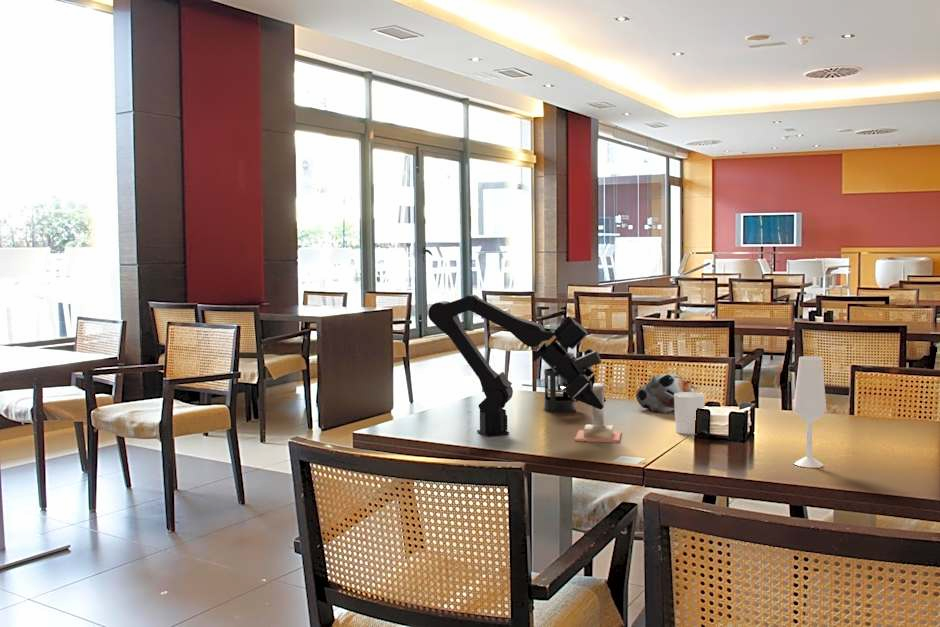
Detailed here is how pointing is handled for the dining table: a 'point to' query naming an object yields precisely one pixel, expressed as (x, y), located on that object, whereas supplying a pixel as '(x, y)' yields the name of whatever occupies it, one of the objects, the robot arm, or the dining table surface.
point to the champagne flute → (809, 400)
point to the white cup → (687, 410)
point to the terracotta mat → (614, 439)
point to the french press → (554, 401)
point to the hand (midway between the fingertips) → (603, 405)
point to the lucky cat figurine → (662, 392)
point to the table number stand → (598, 417)
